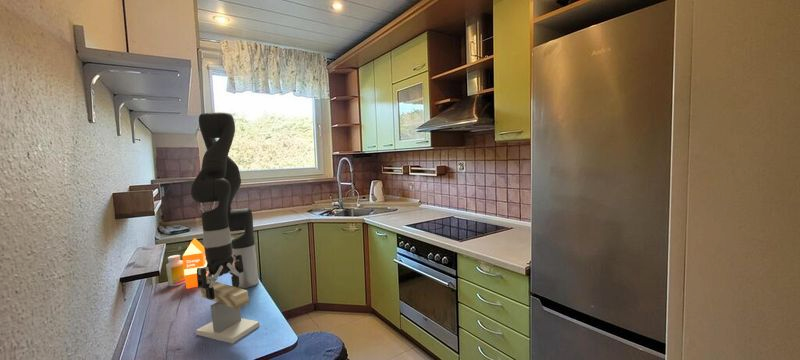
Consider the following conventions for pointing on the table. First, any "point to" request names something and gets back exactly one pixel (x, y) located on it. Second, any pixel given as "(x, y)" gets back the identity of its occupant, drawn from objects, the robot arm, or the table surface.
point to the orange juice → (193, 262)
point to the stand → (226, 324)
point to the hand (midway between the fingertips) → (224, 293)
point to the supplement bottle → (175, 271)
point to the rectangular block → (228, 295)
